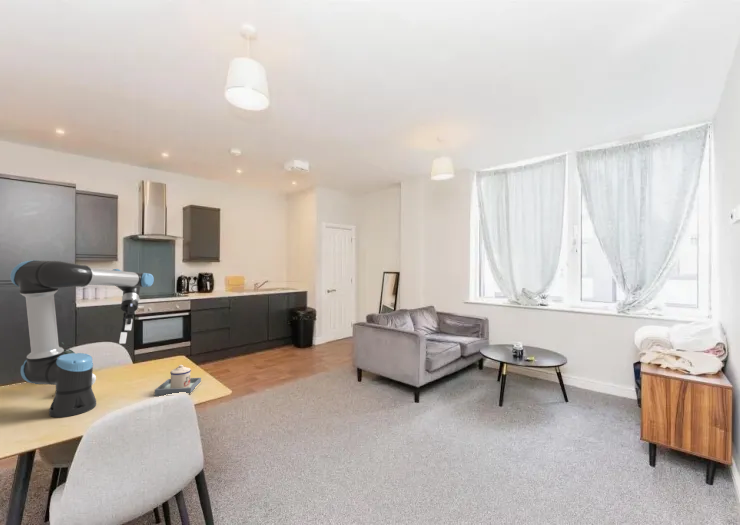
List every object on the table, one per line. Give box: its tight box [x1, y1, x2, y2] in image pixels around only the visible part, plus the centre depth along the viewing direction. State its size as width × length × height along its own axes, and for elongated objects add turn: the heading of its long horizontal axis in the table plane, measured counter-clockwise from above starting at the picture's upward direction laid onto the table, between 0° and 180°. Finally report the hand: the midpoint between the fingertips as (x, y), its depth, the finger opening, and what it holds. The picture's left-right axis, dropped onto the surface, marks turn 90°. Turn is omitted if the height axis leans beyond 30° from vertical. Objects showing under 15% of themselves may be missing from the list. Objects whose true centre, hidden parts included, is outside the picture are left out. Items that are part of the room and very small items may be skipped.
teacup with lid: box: [170, 364, 192, 389], centre depth 168 cm, size 12×9×12 cm
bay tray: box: [154, 377, 202, 397], centre depth 167 cm, size 16×16×3 cm
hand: (125, 337), depth 168 cm, fingers open, 13 cm apart
